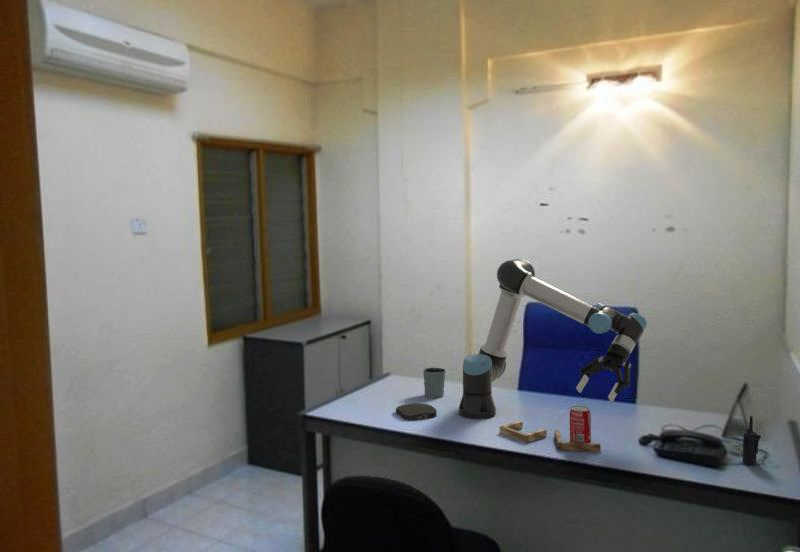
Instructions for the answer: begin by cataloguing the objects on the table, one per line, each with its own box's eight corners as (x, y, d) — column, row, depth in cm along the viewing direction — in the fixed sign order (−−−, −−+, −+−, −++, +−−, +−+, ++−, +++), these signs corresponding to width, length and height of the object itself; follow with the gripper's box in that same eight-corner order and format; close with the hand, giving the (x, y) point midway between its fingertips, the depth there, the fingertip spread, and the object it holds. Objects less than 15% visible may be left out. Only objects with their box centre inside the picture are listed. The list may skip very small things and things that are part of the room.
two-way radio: (746, 459, 196) (748, 413, 195) (761, 462, 193) (763, 416, 192) (740, 463, 192) (742, 417, 191) (756, 467, 189) (758, 420, 188)
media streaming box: (425, 408, 257) (425, 401, 256) (439, 417, 243) (439, 410, 243) (393, 412, 251) (393, 405, 251) (406, 422, 238) (406, 414, 238)
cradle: (556, 436, 219) (556, 429, 219) (602, 451, 204) (602, 444, 204) (537, 442, 213) (537, 435, 213) (583, 458, 198) (583, 451, 198)
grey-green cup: (418, 395, 274) (418, 369, 273) (434, 391, 281) (434, 366, 280) (435, 400, 267) (434, 373, 266) (450, 395, 274) (450, 369, 273)
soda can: (592, 448, 206) (593, 411, 206) (571, 448, 207) (571, 411, 206) (588, 441, 214) (588, 405, 213) (567, 440, 214) (568, 405, 213)
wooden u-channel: (519, 427, 229) (519, 420, 229) (546, 436, 219) (546, 429, 219) (499, 433, 223) (499, 426, 223) (526, 442, 213) (526, 436, 212)
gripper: (655, 362, 217) (628, 409, 210) (596, 349, 237) (570, 392, 230) (647, 349, 213) (620, 397, 206) (588, 337, 234) (561, 381, 226)
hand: (593, 395), depth 218 cm, fingers open, 13 cm apart
